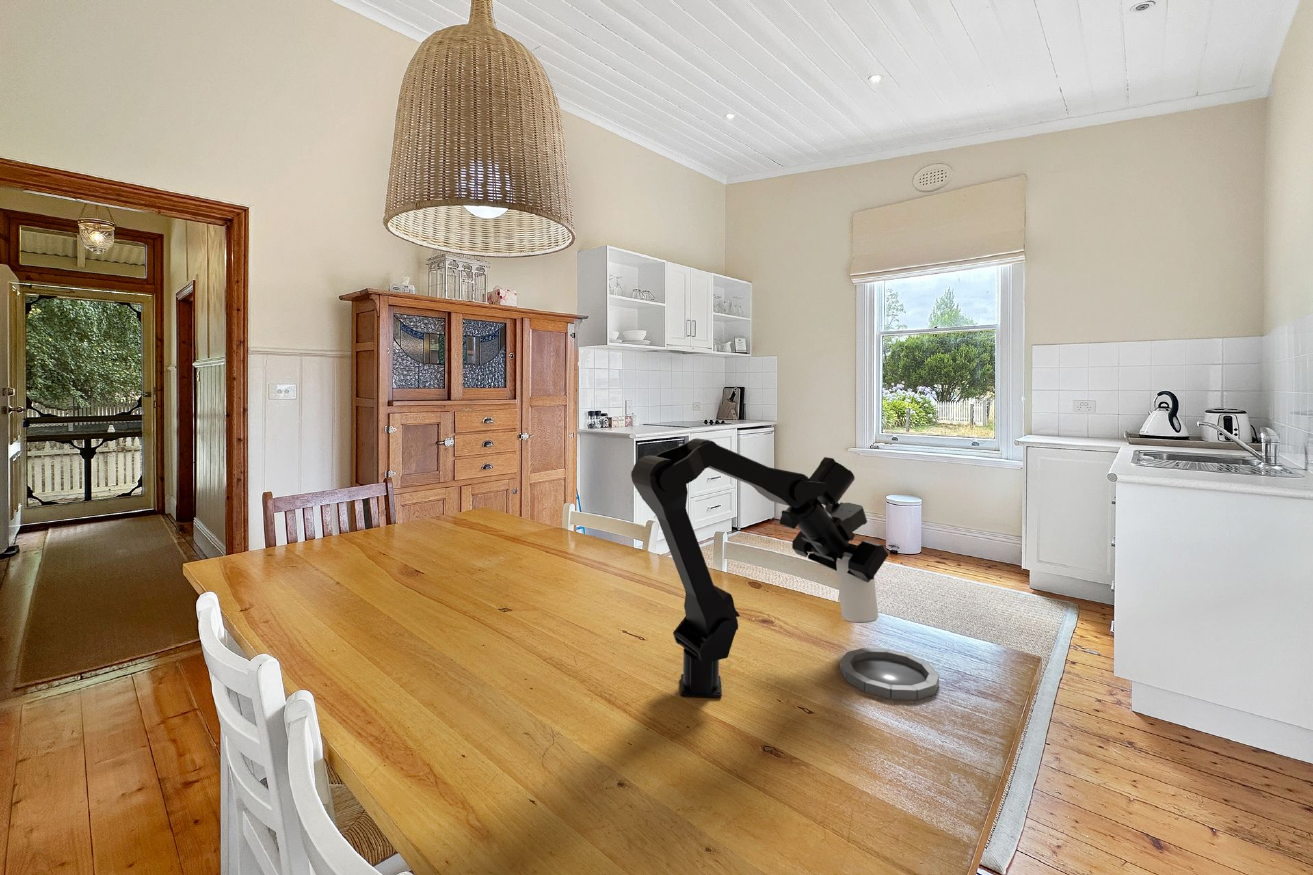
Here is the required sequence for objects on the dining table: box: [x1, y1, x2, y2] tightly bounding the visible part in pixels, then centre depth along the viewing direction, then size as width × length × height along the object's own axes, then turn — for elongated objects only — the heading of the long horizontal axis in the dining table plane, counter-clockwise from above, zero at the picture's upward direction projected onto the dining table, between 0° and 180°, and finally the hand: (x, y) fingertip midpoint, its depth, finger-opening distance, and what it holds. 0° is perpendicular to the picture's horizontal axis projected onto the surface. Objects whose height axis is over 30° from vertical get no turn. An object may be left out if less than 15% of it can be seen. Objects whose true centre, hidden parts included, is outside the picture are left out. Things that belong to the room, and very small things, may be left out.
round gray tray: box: [839, 647, 940, 701], centre depth 101 cm, size 15×15×2 cm
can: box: [836, 556, 879, 624], centre depth 110 cm, size 6×6×12 cm
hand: (859, 577), depth 112 cm, fingers closed on can, 6 cm apart
